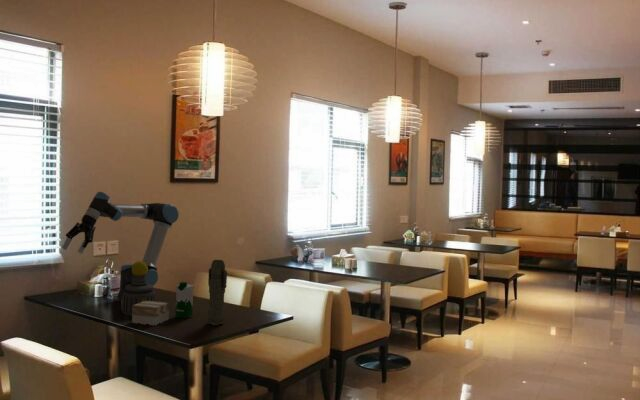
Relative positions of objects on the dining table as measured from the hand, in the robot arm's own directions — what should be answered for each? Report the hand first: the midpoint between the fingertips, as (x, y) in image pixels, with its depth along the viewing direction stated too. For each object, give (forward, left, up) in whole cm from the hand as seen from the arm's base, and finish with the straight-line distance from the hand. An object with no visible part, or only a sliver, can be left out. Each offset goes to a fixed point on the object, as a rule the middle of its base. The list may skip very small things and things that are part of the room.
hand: (71, 250), depth 318 cm
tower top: (-11, +43, -32) cm, 55 cm away
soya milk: (-29, +54, -37) cm, 72 cm away
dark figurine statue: (-22, +77, -37) cm, 89 cm away
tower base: (-12, +43, -37) cm, 58 cm away
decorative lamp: (-25, +26, -37) cm, 52 cm away
